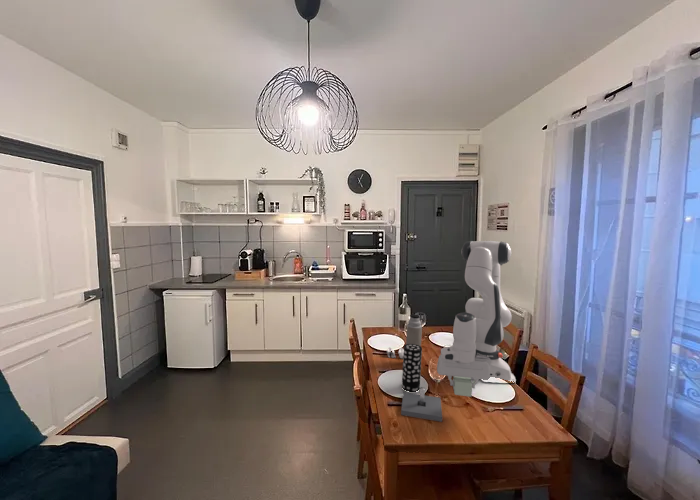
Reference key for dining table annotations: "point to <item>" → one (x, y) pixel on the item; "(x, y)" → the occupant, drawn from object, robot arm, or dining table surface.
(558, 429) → the dining table surface
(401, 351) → the salt and pepper shakers
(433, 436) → the dining table surface
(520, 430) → the dining table surface
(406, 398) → the charcoal board
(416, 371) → the white-spotted black cylinder
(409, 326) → the thermos bottle
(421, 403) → the steel post
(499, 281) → the robot arm
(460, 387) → the sage green cube
